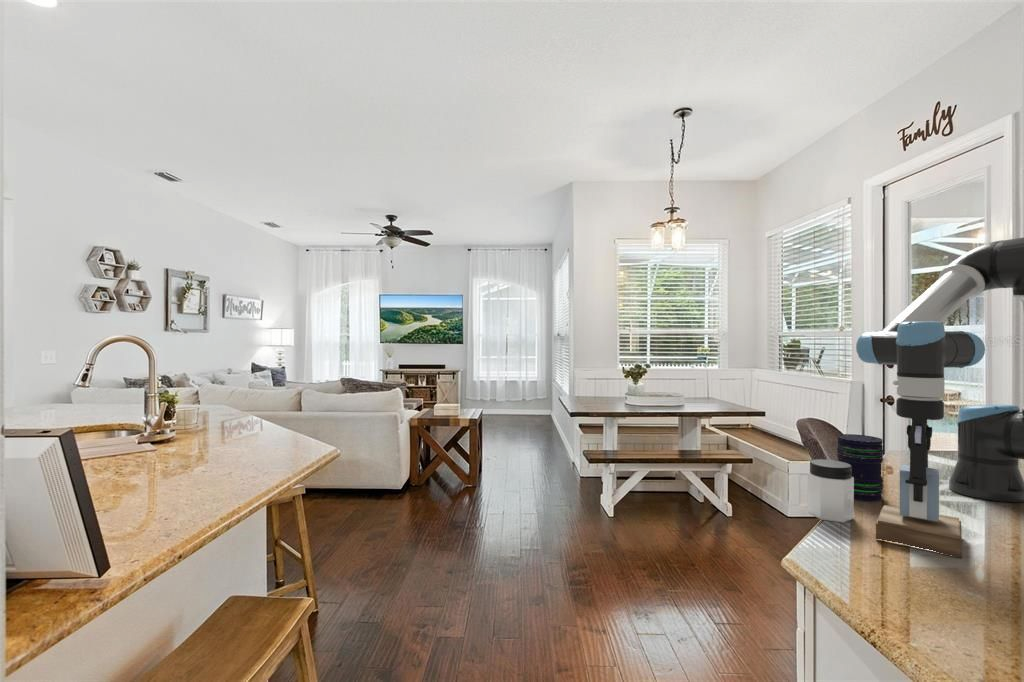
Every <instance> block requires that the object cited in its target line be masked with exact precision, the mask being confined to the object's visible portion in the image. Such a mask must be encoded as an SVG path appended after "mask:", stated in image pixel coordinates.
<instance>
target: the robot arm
mask: <svg viewBox="0 0 1024 682" xmlns="http://www.w3.org/2000/svg"><path fill="white" fill-rule="evenodd" d="M1010 288H1011V289H1012V293H1013V297H1014V298H1016V299H1017V300H1019V301H1020V302H1021V303H1022V310H1023V313H1024V237H1017V238H1011V239H1005V240H995V241H992V242H989V243H985V244H982V245H980V246H977V247H975V248H974V249H971V250H969V251H968V252H965V253H964V254H962V255H960V256H959V257H958V258H956V259H954V260H953V261H951V262H950V263H949V264H948V265H947V266H945V267H944V268H943V269H942V270H941V271H940V272H939V274H938V278H937V280H936V281H935V282H934V283H933V284H931V285H930V286H929V287H928V288H927V289H926V290H925V291H924V292H923V293H922V294H921V295H919V296H917V298H916V299H915V300H913V301H912V303H910V304H909V305H908V306H907V307H906V308H904V309H903V311H902V310H901V312H900V313H899V314H898V315H897V316H896V317H894V318H893V319H892V320H890V322H889V323H888V324H886V326H885V327H883V328H882V329H880V331H876V330H875V331H869V332H864V333H862V334H860V336H859V337H858V339H857V340H856V344H855V345H856V346H855V348H856V350H855V351H856V353H857V356H858V358H859V359H860V360H861V361H863V362H864V363H867V364H877V365H881V366H882V365H891V366H896V379H897V380H893V381H892V384H893V385H894V386H897V387H896V394H897V396H899V397H898V398H897V399H896V409H895V410H896V412H895V413H896V416H898V417H901V418H904V419H911V424H910V425H909V424H908V425H907V426H906V435H907V446H908V447H907V448H908V449H909V465H910V477H909V480H905V483H908V484H910V490H909V516H911V517H917V518H923V519H927V485H926V484H927V480H926V468H929V451H930V450H931V441H932V440H931V439H932V436H933V427H932V426H929V425H928V421H929V420H931V421H940V420H943V419H944V417H945V401H943V400H942V398H944V397H945V368H946V369H947V368H949V369H950V368H955V369H956V368H958V369H962V368H966V367H972V366H974V365H977V364H978V363H979V362H980V361H981V360H982V359H983V358H984V355H985V352H986V347H985V343H984V341H983V340H982V339H981V337H980V336H978V335H977V334H975V333H972V332H968V331H963V330H954V331H953V330H952V331H951V330H950V331H948V330H946V329H945V325H944V321H946V320H947V319H948V318H949V317H950V316H952V314H953V313H954V312H955V311H956V310H958V309H959V308H960V307H961V306H962V305H963V304H964V303H965V302H967V300H968V299H973V298H976V297H977V296H979V295H981V293H983V292H985V291H990V290H996V289H1010ZM945 330H946V331H945ZM957 415H958V416H957V421H956V424H957V461H956V463H955V466H954V468H953V470H952V471H951V472H952V473H951V474H950V476H949V480H948V489H949V490H951V491H953V492H955V493H957V494H961V495H962V496H963V495H964V496H968V497H972V498H976V499H980V500H981V499H982V500H987V501H994V502H995V501H996V502H1002V503H1003V502H1005V503H1022V502H1024V478H1023V475H1022V473H1021V471H1020V467H1019V459H1020V460H1024V405H1023V406H1022V407H1021V409H1020V406H1019V405H1017V404H977V405H975V404H974V405H965V406H962V407H960V409H959V410H958V414H957ZM920 477H921V478H920Z"/></svg>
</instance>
